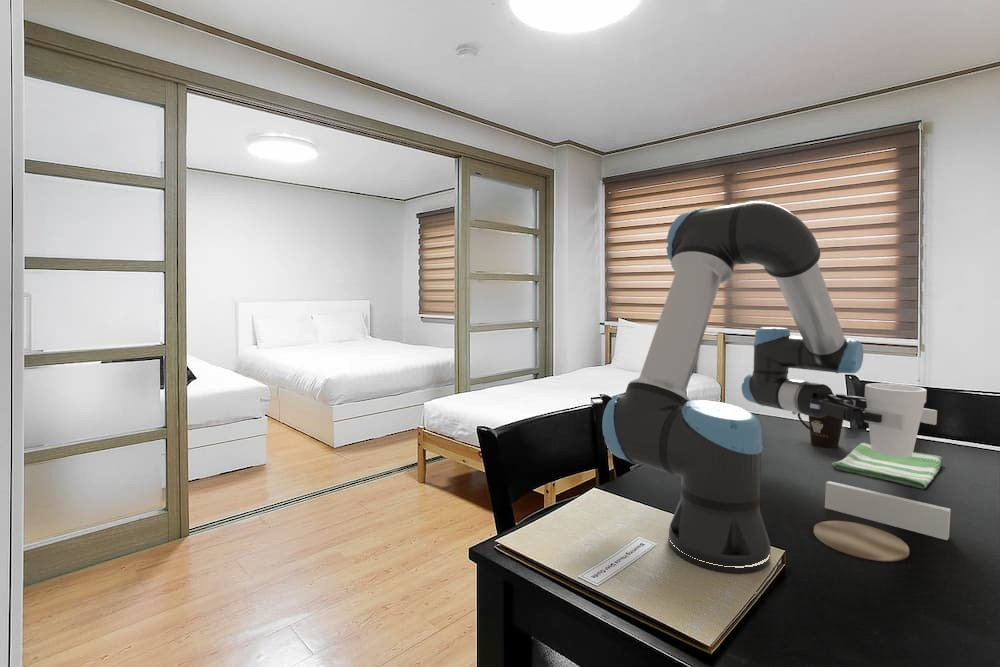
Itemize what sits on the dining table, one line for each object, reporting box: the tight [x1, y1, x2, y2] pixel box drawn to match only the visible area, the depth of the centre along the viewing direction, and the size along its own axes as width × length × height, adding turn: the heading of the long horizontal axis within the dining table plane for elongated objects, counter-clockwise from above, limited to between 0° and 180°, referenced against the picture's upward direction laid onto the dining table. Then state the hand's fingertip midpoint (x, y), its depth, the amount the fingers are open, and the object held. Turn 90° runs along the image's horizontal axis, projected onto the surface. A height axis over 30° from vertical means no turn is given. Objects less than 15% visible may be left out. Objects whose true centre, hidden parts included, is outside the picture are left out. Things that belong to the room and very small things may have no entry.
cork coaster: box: [813, 520, 910, 562], centre depth 85 cm, size 13×13×1 cm
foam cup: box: [864, 382, 928, 458], centre depth 99 cm, size 10×9×13 cm
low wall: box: [824, 480, 952, 541], centre depth 92 cm, size 2×18×5 cm, turn 43°
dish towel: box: [831, 442, 942, 490], centre depth 122 cm, size 18×23×3 cm
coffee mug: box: [797, 413, 844, 449], centre depth 142 cm, size 12×9×10 cm
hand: (919, 420), depth 95 cm, fingers closed on foam cup, 9 cm apart
